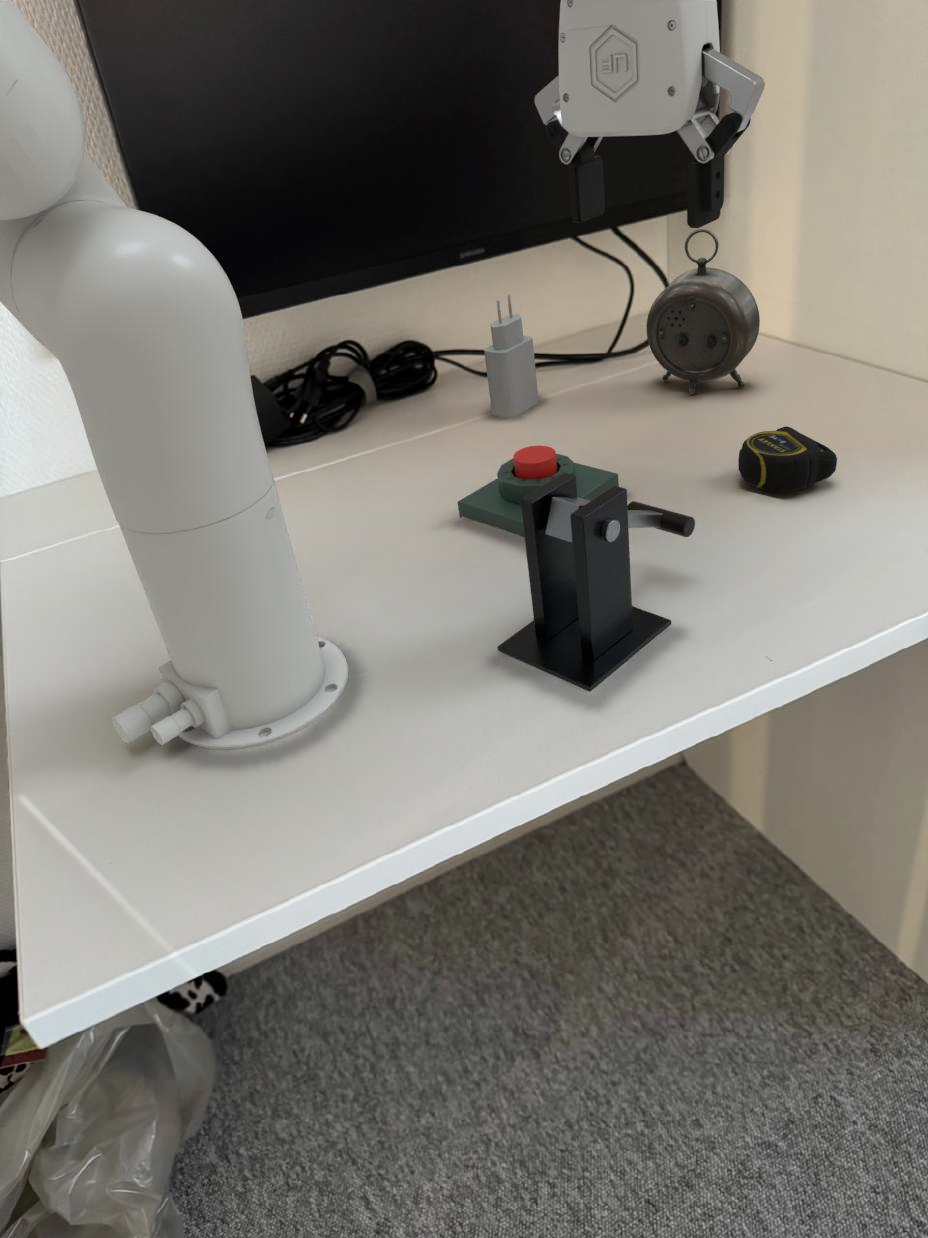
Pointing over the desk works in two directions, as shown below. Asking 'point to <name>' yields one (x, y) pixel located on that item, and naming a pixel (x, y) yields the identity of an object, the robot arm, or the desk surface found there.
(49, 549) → the desk surface
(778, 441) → the tape measure
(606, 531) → the bracket
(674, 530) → the lever
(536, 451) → the button
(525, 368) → the power adapter
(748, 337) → the alarm clock
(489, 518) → the green switch base
